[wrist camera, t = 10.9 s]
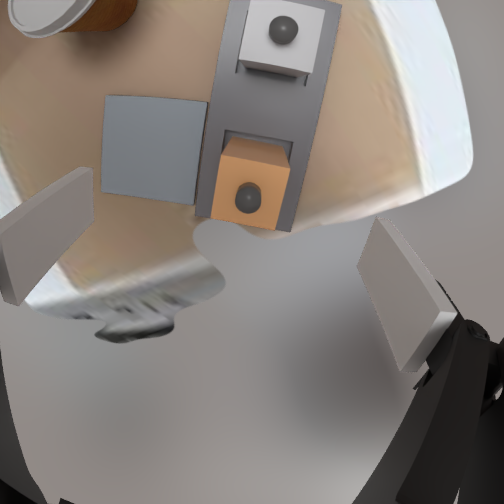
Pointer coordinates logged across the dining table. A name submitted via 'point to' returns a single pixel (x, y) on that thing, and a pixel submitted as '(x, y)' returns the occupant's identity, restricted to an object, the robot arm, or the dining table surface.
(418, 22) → the dining table surface
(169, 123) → the mat
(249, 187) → the plug
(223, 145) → the grey socket base
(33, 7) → the disposable coffee cup
